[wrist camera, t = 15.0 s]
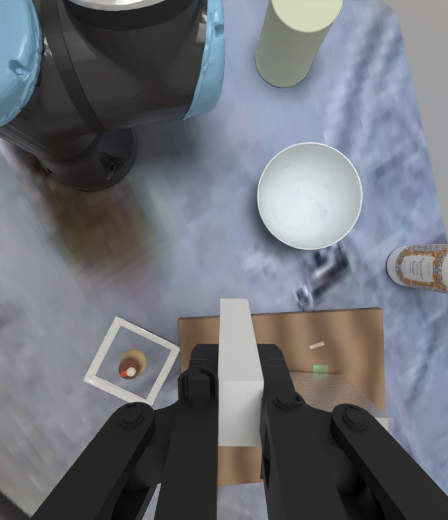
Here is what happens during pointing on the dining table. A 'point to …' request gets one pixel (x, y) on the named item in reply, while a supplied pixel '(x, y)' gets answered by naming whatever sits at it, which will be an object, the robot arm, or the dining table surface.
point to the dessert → (130, 364)
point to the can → (293, 38)
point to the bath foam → (420, 267)
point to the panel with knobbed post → (333, 393)
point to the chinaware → (309, 196)
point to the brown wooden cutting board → (300, 361)
